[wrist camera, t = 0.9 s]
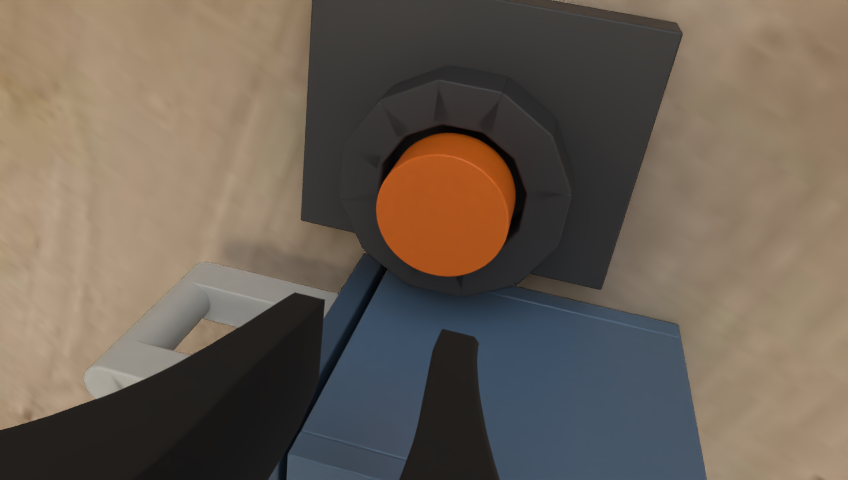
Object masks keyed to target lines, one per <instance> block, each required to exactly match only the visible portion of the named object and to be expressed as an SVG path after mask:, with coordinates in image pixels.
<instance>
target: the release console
mask: <svg viewBox="0 0 848 480" xmlns="http://www.w3.org/2000/svg"><path fill="white" fill-rule="evenodd" d="M681 38H682V31H681V30H680V28H679V26H678V24H677V23H674V22H668V21H663V20H657V19H652V18H646V17H640V16H635V15H629V14H624V13H618V12H613V11H607V10H602V9H596V8H590V7H585V6H579V5H574V4H568V3H563V2H557V1H552V0H312V15H311V34H310V54H309V73H308V93H307V112H306V131H305V151H304V170H303V190H302V209H301V220H302V221H307V222H311V223H315V224H319V225H324V226H328V227H332V228H337V229H341V230H345V231H350V232H354V233H356V235H357V237H358V239H359V241H360V244H361V246H362V248H363V249H364V250H365V252H367V253H368V254H369V255H370V256H372V257H373V258H374V259H376V260H377V261H378V262H379V263H381V264H382V265H383V266H384V267H386V268H387V269H388V270H389V271H391V272H392V273H393V274H394V275H396V276H397V277H398V278H399V279H401V280H402V281H403V282H404V283H406V284H409V285H411V286H415V287H419V288H423V289H428V290H432V291H436V292H440V293H444V294H448V295H453V296H457V297H462V296H463V297H467V296H472V295H476V294H480V293H485V292H489V291H494V290H498V289H503V288H507V287H512V286H514V285H517V284H519V283H520V282H521V281H522V280H523V279H524V278H525V277H527V276H528V275H529V274H534V275H539V276H543V277H547V278H552V279H556V280H560V281H565V282H569V283H573V284H577V285H582V286H586V287H590V288H595V289H599V290H601V289H602V286H603V283H604V280H605V277H606V274H607V270H608V267H609V264H610V261H611V258H612V255H613V252H614V248H615V245H616V242H617V239H618V236H619V233H620V230H621V226H622V223H623V220H624V217H625V214H626V211H627V208H628V204H629V201H630V198H631V195H632V192H633V189H634V186H635V182H636V179H637V176H638V173H639V170H640V167H641V164H642V160H643V157H644V154H645V151H646V148H647V145H648V142H649V138H650V135H651V132H652V129H653V126H654V123H655V120H656V116H657V113H658V110H659V107H660V104H661V101H662V98H663V94H664V91H665V88H666V85H667V82H668V79H669V76H670V72H671V69H672V66H673V63H674V60H675V57H676V54H677V50H678V47H679V44H680V41H681ZM440 133H458V134H464V135H467V136H471V137H473V138H476V139H478V140H480V141H482V142H484V143H486V144H487V145H488V146H490V147H491V148H492V149H494V150H495V151H496V152H497V153H498V154H499V155H500V156H501V158H502V159H503V160H504V161H505V163H506V164H507V166H508V168H509V170H510V172H511V174H512V177H513V180H514V184H515V191H516V200H515V206H514V211H513V215H512V219H511V223H510V227H509V231H508V234H507V237H506V241H505V243H504V245H503V247H502V249H501V250H500V252H499V253H498V254H497V255H496V257H495V258H494V259H493V260H492V261H490V262H489V263H488V264H487V265H485V266H484V267H482V268H480V269H479V270H476V271H474V272H472V273H469V274H465V275H460V276H450V277H447V276H437V275H431V274H428V273H425V272H422V271H420V270H417V269H415V268H413V267H411V266H410V265H408V264H407V263H405V262H404V261H402V260H401V259H400V258H399V257H398V256H397V255H396V254H395V253H394V252H393V251H392V250H391V249H390V247H389V246H388V245H387V243H386V242H385V240H384V238H383V236H382V234H381V231H380V229H379V226H378V222H377V215H376V202H377V197H378V193H379V190H380V188H381V186H382V184H383V182H384V180H385V179H386V177H387V176H388V175H389V173H390V172H391V170H392V169H393V167H394V166H395V165H396V163H397V162H398V160H399V159H400V157H401V156H402V155H403V153H404V152H405V151H406V150H407V149H408V148H409V147H410V146H412V145H413V144H414V143H416V142H417V141H419V140H421V139H423V138H425V137H428V136H431V135H435V134H440Z"/></svg>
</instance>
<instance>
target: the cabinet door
mask: <svg viewBox="0 0 848 480" xmlns="http://www.w3.org/2000/svg"><path fill="white" fill-rule="evenodd" d="M383 268H384V266H383V265H382V264H381V263H379V262H378V261H377V260H376V259H374V258H373V257H372V256H370V255H369V254H363V256H362V257H361V259H360V261H359V262H358V264H357V265H356V267H355V269H354V270H353V272H352V273H351V275H350V277H349V278H348V280H347V282H346V283H345V285H344V286H343V288H342V290H341V291H340V293H339V294H337V293H333V292H329V291H325V290H321V289H317V288H313V287H309V286H305V285H301V284H297V283H293V282H288V281H284V280H280V279H276V278H272V277H268V276H264V275H260V274H256V273H252V272H248V271H244V270H240V269H235V268H231V267H227V266H223V265H219V264H215V263H209V262H202V263H199V264H197V265H195V266H194V267H193V268H192V269H191V270H190V271H189V272H188V273H187V274H186V275H185V276H184V277H183V278H182V279H181V280H180V281H179V282H178V283H177V284H176V285H175V286H174V287H172V288H171V289H170V290H169V291H168V292H167V293H166V294H165V295H164V296H163V297H162V298H161V299H160V300H159V301H158V302H157V303H156V304H155V305H154V306H153V307H152V308H151V309H150V310H149V311H148V312H147V313H146V314H144V315H143V316H142V317H141V318H140V319H139V320H138V321H137V322H136V323H135V324H134V325H133V326H132V327H131V328H130V329H129V330H128V331H127V332H126V333H125V334H124V335H123V336H122V337H121V338H120V339H119V340H118V341H116V342H115V343H114V344H113V345H112V346H111V347H110V348H109V349H108V350H107V351H106V352H105V353H104V354H103V355H102V356H101V357H100V358H99V359H98V360H97V361H96V362H95V363H94V364H93V365H92V366H91V367H90V368H88V370H87V371H86V373H85V375H84V383H85V386H86V388H87V390H88V391H89V393H90V394H91V395H92V396H93V397H94V398H95V399H98V398H101V397H104V396H106V395H109V394H111V393H114V392H116V391H118V390H121V389H123V388H125V387H128V386H130V385H132V384H135V383H137V382H139V381H141V380H144V379H146V378H148V377H150V376H152V375H154V374H156V373H159V372H161V371H163V370H165V369H167V368H169V367H171V366H173V365H174V364H176V363H178V362H180V361H182V360H184V359H185V358H187V357H189V356H191V355H188V354H184V353H180V352H177V351H173V350H174V349H175V348H176V347H177V346H178V345H179V344H180V342H181V341H182V340H183V339H184V338H185V337H186V336H187V335H188V334H189V332H190V331H191V330H192V329H193V328H194V327H195V326H196V325H197V323H198V322H199V321H200V320H201V319H202V318H203V319H207V320H211V321H215V322H218V323H222V324H226V325H230V326H234V327H238V328H239V327H240V326H242V325H244V324H245V323H247V322H248V321H250V320H251V319H253V318H255V317H256V316H258V315H259V314H261V313H262V312H264V311H265V310H267V309H269V308H270V307H272V306H273V305H275V304H276V303H278V302H279V301H281V300H283V299H284V298H286V297H288V296H289V295H291V294H293V293H294V292H296V293H300V294H304V295H308V296H312V297H316V298H320V299H324V300H325V307H324V320H323V333H322V346H321V359H320V372H319V383H318V385H317V388H316V390H315V392H314V395H313V397H312V399H311V402H310V404H309V406H308V409H307V411H306V413H305V415H304V418H303V420H302V422H301V424H300V427H299V429H298V430H297V432H296V434H295V435H294V437H293V439H292V441H291V442H290V444H289V446H288V447H287V449H286V451H285V452H284V454H283V456H282V457H281V459H280V461H279V463H278V464H277V466H276V468H275V469H274V471H273V472H272V474H271V476H270V477H269V479H268V480H287V460H288V453H289V451H290V449H291V448H292V446H293V444H294V442H295V440H296V438H297V436H298V434H299V433H300V432H301V430H302V428H303V426H304V424H305V422H306V420H307V418H308V417H309V415H310V413H311V411H312V409H313V407H314V405H315V404H316V402H317V400H318V398H319V396H320V394H321V392H322V390H323V389H324V387H325V385H326V383H327V381H328V379H329V377H330V375H331V374H332V372H333V370H334V368H335V366H336V364H337V362H338V361H339V359H340V357H341V355H342V353H343V351H344V349H345V347H346V346H347V344H348V342H349V340H350V338H351V336H352V334H353V333H354V331H355V329H356V327H357V325H358V323H359V321H360V319H361V318H362V316H363V314H364V312H365V310H366V308H367V306H368V305H369V303H370V301H371V299H372V297H373V295H374V293H375V291H376V290H377V288H378V286H379V284H380V282H381V280H382V276H383Z"/></svg>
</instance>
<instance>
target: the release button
mask: <svg viewBox="0 0 848 480" xmlns="http://www.w3.org/2000/svg"><path fill="white" fill-rule="evenodd" d="M515 200H516V191H515V184H514V180H513V177H512V174H511V172H510V170H509V168H508V166H507V164H506V163H505V161H504V160H503V159H502V158H501V156H500V155H499V154H498V153H497V152H496V151H495V150H494V149H492V148H491V147H490V146H488V145H487V144H486V143H484V142H482V141H480V140H478V139H476V138H473V137H471V136H467V135H464V134H458V133H440V134H435V135H431V136H428V137H425V138H423V139H421V140H419V141H417V142H416V143H414V144H413V145H412V146H410V147H409V148H408V149H407V150H406V151H405V152H404V153H403V155H402V156H401V157H400V159H399V160H398V162H397V163H396V165H395V166H394V167H393V169H392V170H391V172H390V173H389V175H388V176H387V177H386V179H385V180H384V182H383V184H382V186H381V188H380V190H379V193H378V197H377V202H376V215H377V222H378V226H379V229H380V231H381V234H382V236H383V238H384V240H385V242H386V243H387V245H388V246H389V247H390V249H391V250H392V251H393V252H394V253H395V254H396V255H397V256H398V257H399V258H400V259H401V260H402V261H404V262H405V263H407V264H408V265H410V266H411V267H413V268H415V269H417V270H420V271H422V272H425V273H428V274H431V275H437V276H447V277H450V276H460V275H465V274H469V273H472V272H474V271H476V270H479V269H480V268H482V267H484V266H485V265H487V264H488V263H489V262H490V261H492V260H493V259H494V258H495V257H496V255H497V254H498V253H499V252H500V250H501V249H502V247H503V245H504V243H505V241H506V237H507V234H508V231H509V227H510V223H511V219H512V215H513V211H514V206H515Z"/></svg>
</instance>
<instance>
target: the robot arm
mask: <svg viewBox="0 0 848 480" xmlns="http://www.w3.org/2000/svg"><path fill="white" fill-rule="evenodd" d="M324 307H325V300H324V299H320V298H316V297H312V296H308V295H304V294H300V293H296V292H294V293H293V294H291V295H289V296H288V297H286V298H284V299H283V300H281V301H279V302H278V303H276V304H275V305H273V306H272V307H270V308H269V309H267V310H265V311H264V312H262V313H261V314H259V315H258V316H256V317H255V318H253V319H251V320H250V321H248V322H247V323H245V324H244V325H242V326H240V327H239V328H237V329H235V330H234V331H232V332H231V333H229V334H227V335H226V336H224V337H222V338H221V339H219V340H217V341H216V342H214V343H212V344H211V345H209V346H207V347H206V348H204V349H202V350H200V351H198V352H196V353H195V354H193V355H191V356H189V357H187V358H185V359H184V360H182V361H180V362H178V363H176V364H174V365H173V366H171V367H169V368H167V369H165V370H163V371H161V372H159V373H156V374H154V375H152V376H150V377H148V378H146V379H144V380H141V381H139V382H137V383H135V384H132V385H130V386H128V387H125V388H123V389H121V390H118V391H116V392H114V393H111V394H109V395H106V396H104V397H101V398H98V399H95V400H92V401H90V402H87V403H84V404H81V405H79V406H76V407H73V408H70V409H68V410H65V411H62V412H59V413H56V414H54V415H51V416H48V417H44V418H41V419H38V420H35V421H31V422H28V423H25V424H21V425H18V426H14V427H11V428H7V429H3V430H0V480H268V479H269V477H270V476H271V474H272V472H273V471H274V469H275V468H276V466H277V464H278V463H279V461H280V459H281V457H282V456H283V454H284V452H285V451H286V449H287V447H288V446H289V444H290V442H291V441H292V439H293V437H294V435H295V434H296V432H297V430H298V429H299V427H300V424H301V422H302V420H303V418H304V415H305V413H306V411H307V409H308V406H309V404H310V402H311V399H312V397H313V395H314V392H315V390H316V388H317V385H318V383H319V372H320V359H321V346H322V333H323V320H324ZM478 346H479V342H478V341H477V339H476V338H475V337H474V336H470V335H466V334H462V333H458V332H454V331H450V330H446V329H442V330H441V332H440V334H439V336H438V339H437V341H436V343H435V346H434V348H433V351H432V356H431V361H430V366H429V371H428V376H427V381H426V386H425V391H424V396H423V401H422V406H421V411H420V415H419V420H418V425H417V429H416V433H415V436H414V440H413V444H412V446H411V449H410V452H409V455H408V457H407V460H406V463H405V465H404V468H403V471H402V474H401V476H400V479H399V480H500V479H499V475H498V472H497V469H496V465H495V462H494V458H493V455H492V451H491V447H490V443H489V439H488V435H487V430H486V426H485V421H484V415H483V410H482V404H481V398H480V391H479V382H478V368H477V356H478Z"/></svg>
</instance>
